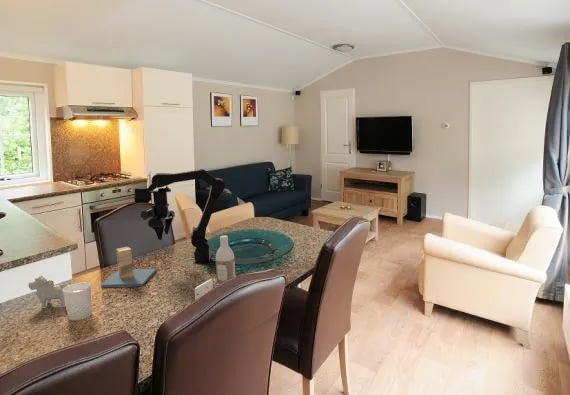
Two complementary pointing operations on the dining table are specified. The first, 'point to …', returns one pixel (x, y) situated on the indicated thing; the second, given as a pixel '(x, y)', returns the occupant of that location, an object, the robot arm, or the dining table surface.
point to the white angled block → (203, 288)
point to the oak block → (125, 263)
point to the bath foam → (224, 261)
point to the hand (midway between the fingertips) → (163, 237)
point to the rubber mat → (139, 279)
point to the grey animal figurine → (47, 290)
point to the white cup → (78, 300)
